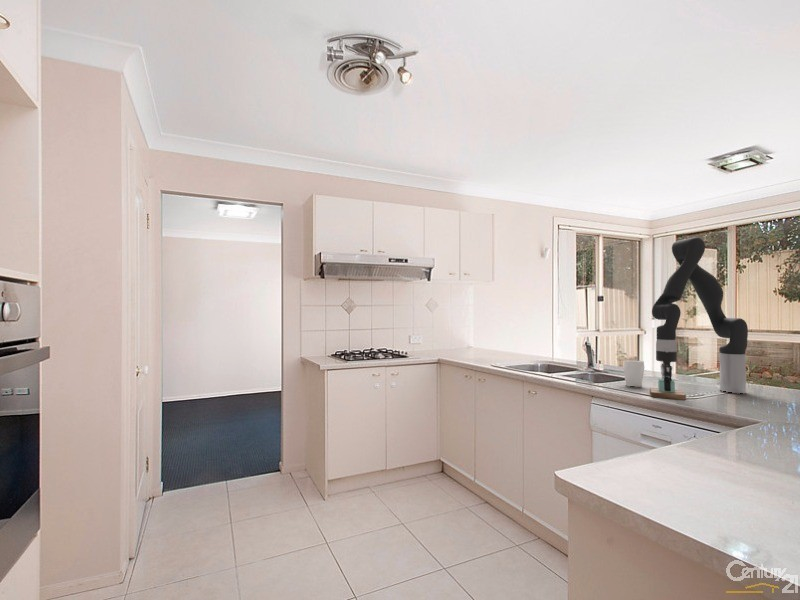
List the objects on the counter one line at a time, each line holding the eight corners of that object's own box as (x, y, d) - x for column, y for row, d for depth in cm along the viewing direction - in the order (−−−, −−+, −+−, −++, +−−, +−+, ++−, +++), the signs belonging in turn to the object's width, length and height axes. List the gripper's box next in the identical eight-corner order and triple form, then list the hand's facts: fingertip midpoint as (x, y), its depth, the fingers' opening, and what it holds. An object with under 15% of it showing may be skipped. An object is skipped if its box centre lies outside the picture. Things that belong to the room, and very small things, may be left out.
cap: (655, 390, 179) (655, 378, 179) (664, 389, 181) (664, 378, 181) (668, 392, 174) (668, 380, 174) (677, 391, 176) (677, 380, 176)
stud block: (649, 392, 185) (649, 379, 186) (682, 394, 180) (682, 382, 180) (651, 397, 175) (651, 383, 175) (685, 400, 169) (685, 386, 169)
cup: (648, 387, 197) (648, 362, 197) (629, 387, 197) (629, 362, 197) (637, 384, 206) (637, 360, 206) (619, 384, 206) (619, 359, 206)
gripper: (654, 348, 186) (655, 386, 186) (657, 351, 173) (657, 391, 173) (674, 349, 182) (675, 387, 182) (678, 351, 170) (679, 393, 169)
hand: (666, 389), depth 177 cm, fingers closed on cap, 5 cm apart
